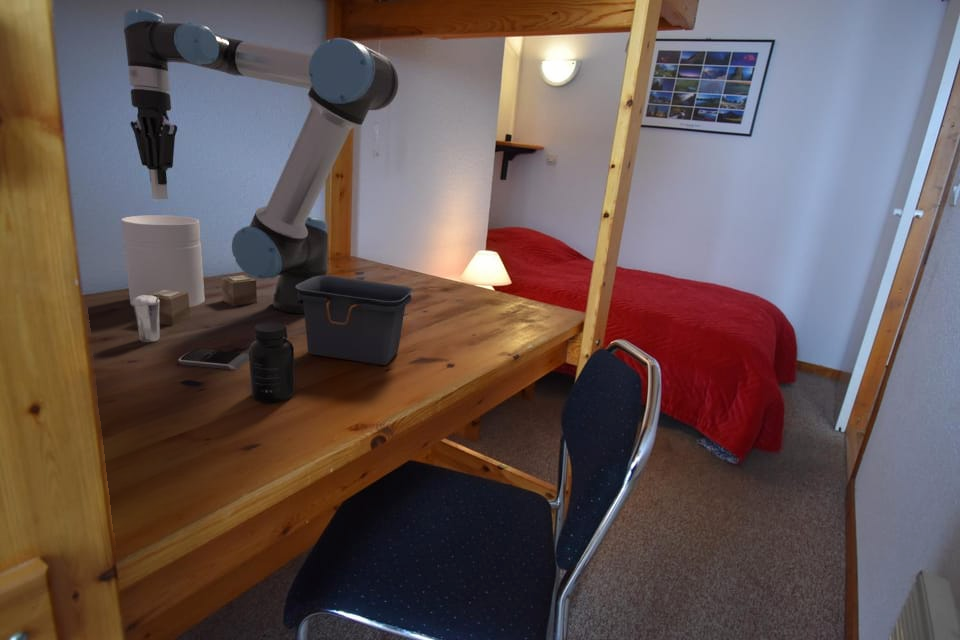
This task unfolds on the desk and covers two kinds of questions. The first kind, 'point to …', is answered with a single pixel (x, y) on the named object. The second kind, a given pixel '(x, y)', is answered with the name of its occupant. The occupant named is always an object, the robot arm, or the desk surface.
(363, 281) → the storage bin
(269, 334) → the supplement bottle
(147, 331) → the milkshake
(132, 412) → the desk surface
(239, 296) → the walnut block right
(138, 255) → the canister
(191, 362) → the cell phone
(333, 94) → the robot arm
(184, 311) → the walnut block left
